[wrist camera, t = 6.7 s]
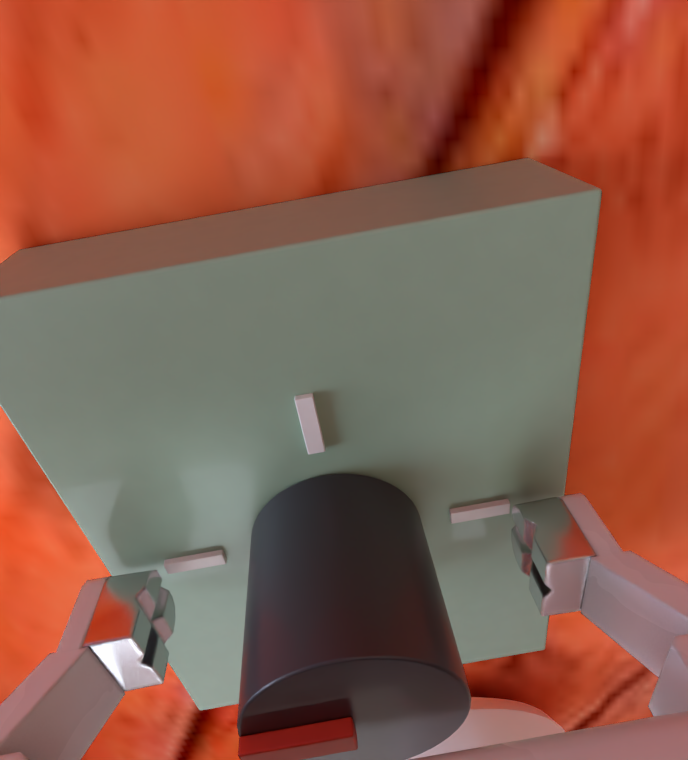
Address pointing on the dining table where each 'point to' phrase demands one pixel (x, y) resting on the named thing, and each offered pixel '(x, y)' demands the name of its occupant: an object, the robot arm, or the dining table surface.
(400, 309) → the dial console
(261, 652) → the dial
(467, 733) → the flower in vase
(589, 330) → the dining table surface
